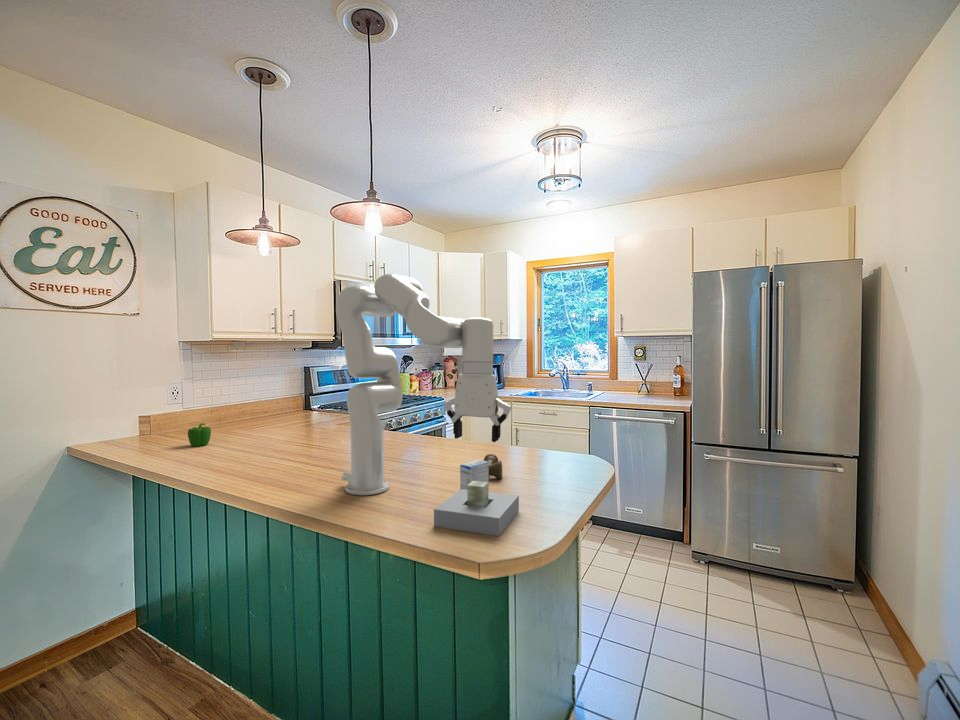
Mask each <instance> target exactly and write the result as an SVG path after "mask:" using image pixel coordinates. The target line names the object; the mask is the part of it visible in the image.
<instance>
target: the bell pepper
mask: <svg viewBox="0 0 960 720" xmlns="http://www.w3.org/2000/svg"><path fill="white" fill-rule="evenodd" d="M206 424H207V423H205V422H201V423H199V424H198V425H197V427H196V426H195V427H192V428H189V429H188V431H187V438H188V441H189V444H190V446H192V447H196V446H198V447H204V446H208V445H209V442H210V439H211V435H212V429H211V427H209V426H206Z"/></svg>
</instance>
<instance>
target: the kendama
mask: <svg viewBox="0 0 960 720" xmlns="http://www.w3.org/2000/svg"><path fill="white" fill-rule="evenodd" d="M483 461H487V462H489V476H492V477H494V478H495V479H498V480H500V479H501V480H502V478H503V462H502V460H500V459H499V458H498V457H497V455H496V454H493V453H488V454H487V455H485V456H484V458H483Z"/></svg>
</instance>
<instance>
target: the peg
mask: <svg viewBox="0 0 960 720" xmlns="http://www.w3.org/2000/svg"><path fill="white" fill-rule="evenodd" d="M488 492H489V490H488V482H481V481H472V482H471V483H470V484H468V485H467V505H468V506H476V507H483V508H486V507H487V506H488Z"/></svg>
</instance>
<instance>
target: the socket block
mask: <svg viewBox="0 0 960 720" xmlns="http://www.w3.org/2000/svg"><path fill="white" fill-rule="evenodd" d="M519 498H520V495H515V494H508V493H501V492H491V491H488V506H487V507H486V508H483V507H476V506H468V505H467V490H466V489H460V488H459V490H458V491H456V492H454V494H453V495H451V496H450V497H448V498H447V499H445V500H444V501H443V502H441V504H439V505H438V506H436V507H434V509H433V526H434V527H437V528H444V529H451V530H457V531H464V532H469V533H476V534H483V535H489V536H496V537H500V536H501V534H502V533H503V532H504V531H505V529H506V528H508V526H509V525H510V523H511V522H512V521H513V520H514V518H515V517H516V516H517V514H518V513H519V512H520V504H519V503H520V501H519V500H520V499H519Z"/></svg>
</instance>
